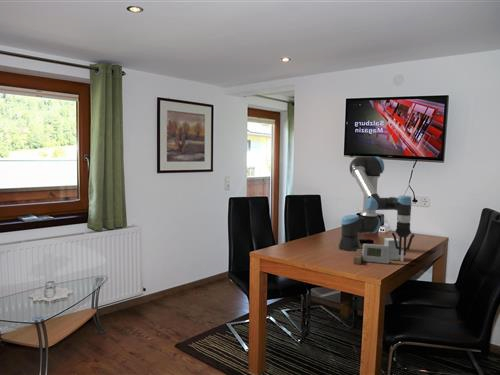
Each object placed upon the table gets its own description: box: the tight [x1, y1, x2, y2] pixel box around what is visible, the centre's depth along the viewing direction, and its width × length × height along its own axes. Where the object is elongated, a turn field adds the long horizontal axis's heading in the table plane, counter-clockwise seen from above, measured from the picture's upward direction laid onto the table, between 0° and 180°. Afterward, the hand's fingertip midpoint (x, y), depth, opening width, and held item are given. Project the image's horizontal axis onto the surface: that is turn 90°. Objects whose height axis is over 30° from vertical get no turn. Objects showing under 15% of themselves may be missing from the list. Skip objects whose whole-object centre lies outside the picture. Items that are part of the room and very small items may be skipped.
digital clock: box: [361, 243, 390, 265], centre depth 242 cm, size 16×9×11 cm, turn 57°
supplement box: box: [383, 237, 400, 261], centre depth 251 cm, size 7×7×13 cm
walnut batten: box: [353, 248, 363, 266], centre depth 248 cm, size 24×4×4 cm, turn 160°
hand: (401, 260), depth 238 cm, fingers closed
